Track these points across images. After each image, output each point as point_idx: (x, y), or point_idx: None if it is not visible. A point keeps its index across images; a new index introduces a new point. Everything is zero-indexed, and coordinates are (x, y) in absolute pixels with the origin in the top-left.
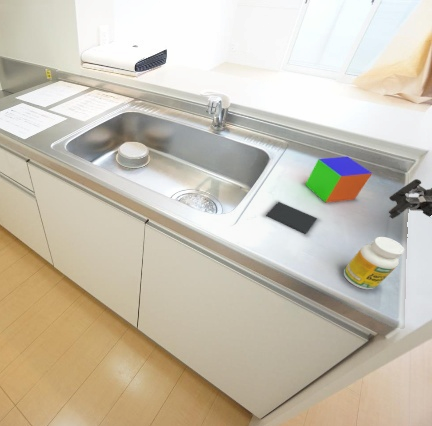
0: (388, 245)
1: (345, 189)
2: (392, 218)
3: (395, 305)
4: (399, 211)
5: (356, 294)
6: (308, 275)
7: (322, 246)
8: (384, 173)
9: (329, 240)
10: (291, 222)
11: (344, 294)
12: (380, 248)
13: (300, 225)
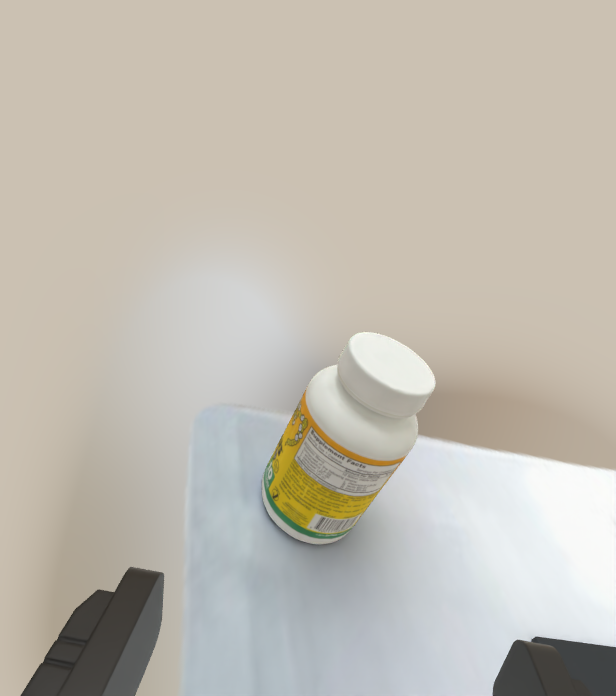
0: (393, 357)
1: None
2: (496, 684)
3: (199, 445)
4: (545, 650)
5: None
6: None
7: (454, 602)
8: None
9: (468, 673)
10: (609, 673)
11: None
12: (399, 343)
13: (584, 680)
